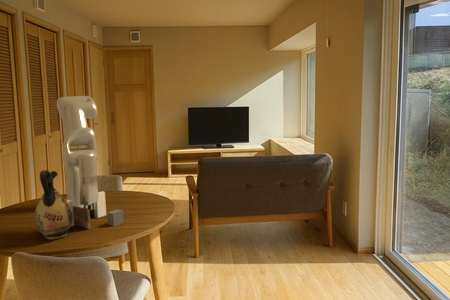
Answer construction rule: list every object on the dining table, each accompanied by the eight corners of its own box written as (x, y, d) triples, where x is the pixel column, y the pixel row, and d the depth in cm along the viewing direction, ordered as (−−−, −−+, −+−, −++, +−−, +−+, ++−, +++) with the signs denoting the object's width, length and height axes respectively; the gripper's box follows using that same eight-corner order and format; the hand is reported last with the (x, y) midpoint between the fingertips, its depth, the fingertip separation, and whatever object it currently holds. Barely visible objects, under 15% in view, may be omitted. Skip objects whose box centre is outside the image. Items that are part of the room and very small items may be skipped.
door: (75, 223, 205) (73, 205, 203) (91, 228, 197) (89, 209, 196) (69, 224, 202) (67, 207, 201) (85, 229, 195) (83, 211, 193)
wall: (62, 227, 200) (59, 202, 198) (103, 214, 219) (101, 191, 217) (65, 228, 198) (63, 203, 196) (106, 215, 218) (105, 191, 216)
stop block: (108, 224, 202) (107, 212, 202) (117, 221, 207) (117, 209, 206) (113, 226, 200) (113, 213, 199) (123, 222, 205) (123, 210, 204)
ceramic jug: (44, 230, 196) (38, 165, 192) (78, 229, 196) (73, 164, 192) (28, 244, 179) (21, 173, 175) (65, 243, 179) (59, 172, 175)
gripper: (88, 175, 206) (91, 212, 209) (72, 183, 191) (75, 222, 194) (103, 175, 205) (105, 213, 208) (88, 183, 190) (91, 223, 193)
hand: (91, 217), depth 201 cm, fingers closed
